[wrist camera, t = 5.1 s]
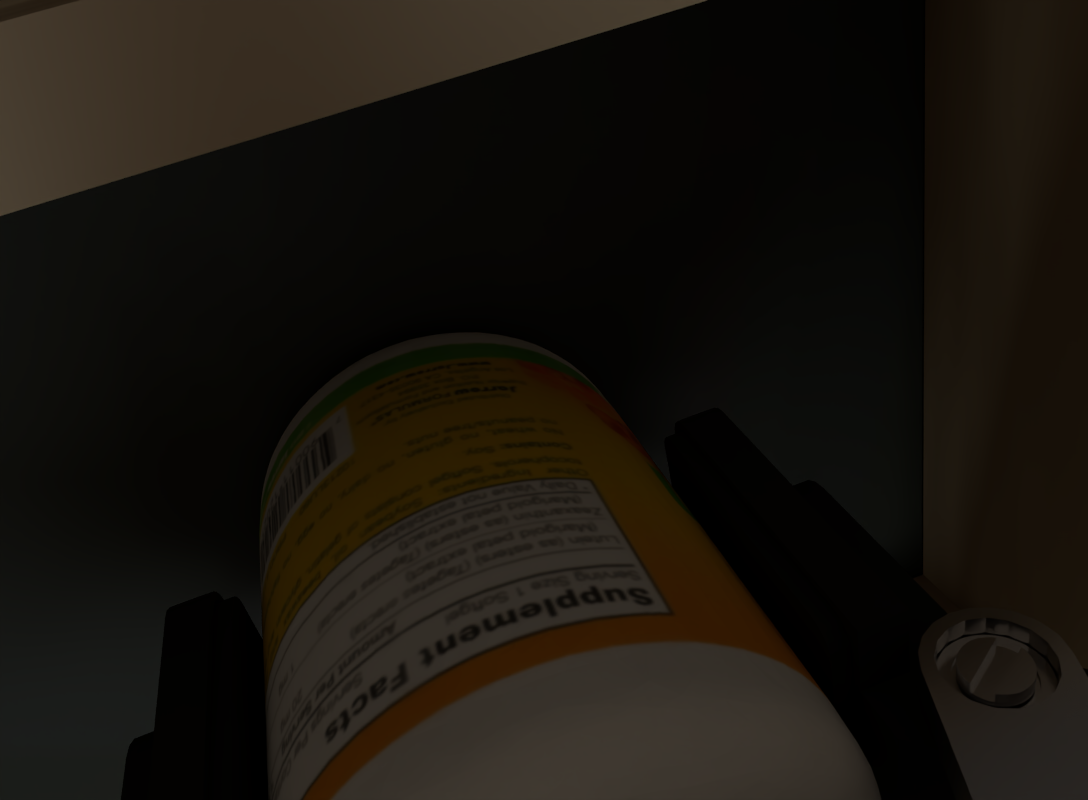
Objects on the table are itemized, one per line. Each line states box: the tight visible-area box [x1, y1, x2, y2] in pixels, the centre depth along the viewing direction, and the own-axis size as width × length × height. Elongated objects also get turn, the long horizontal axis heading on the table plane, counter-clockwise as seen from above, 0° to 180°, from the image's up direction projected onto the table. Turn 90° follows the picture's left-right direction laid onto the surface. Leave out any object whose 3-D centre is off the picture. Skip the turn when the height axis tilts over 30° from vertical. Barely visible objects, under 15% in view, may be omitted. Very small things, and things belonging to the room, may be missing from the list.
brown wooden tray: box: [0, 0, 1088, 669], centre depth 12 cm, size 20×15×4 cm
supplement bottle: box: [259, 332, 881, 800], centre depth 9 cm, size 5×5×10 cm
